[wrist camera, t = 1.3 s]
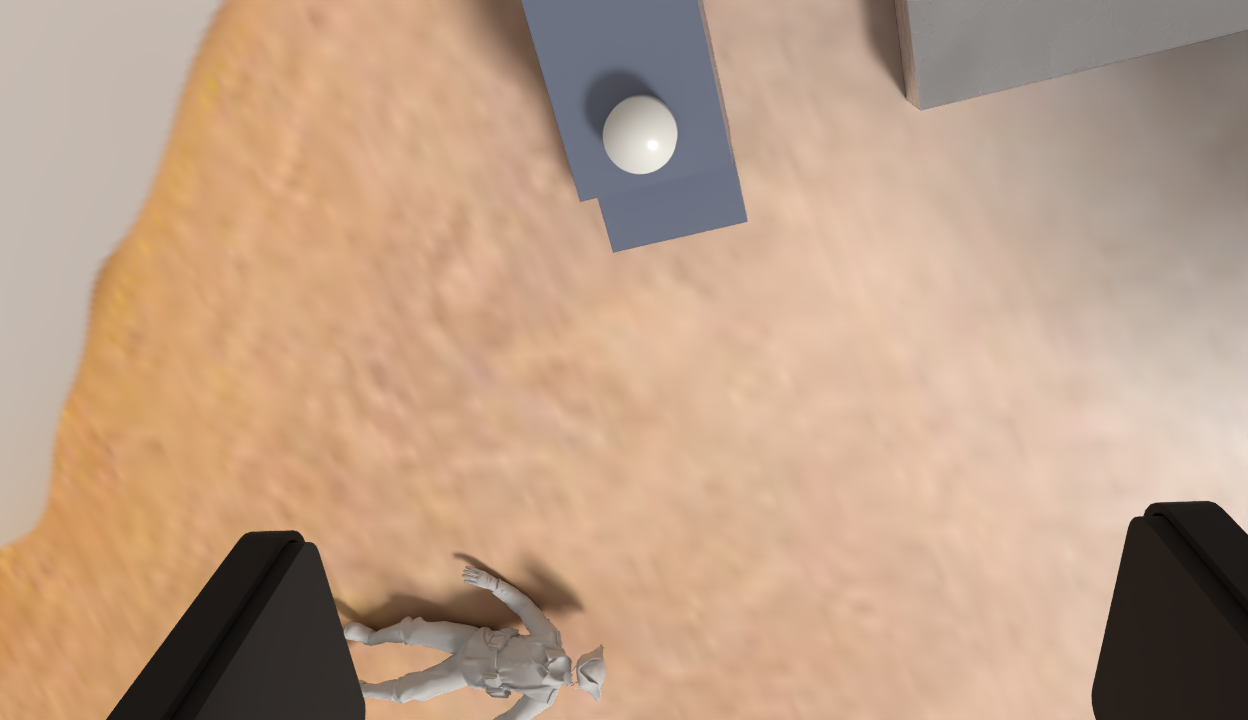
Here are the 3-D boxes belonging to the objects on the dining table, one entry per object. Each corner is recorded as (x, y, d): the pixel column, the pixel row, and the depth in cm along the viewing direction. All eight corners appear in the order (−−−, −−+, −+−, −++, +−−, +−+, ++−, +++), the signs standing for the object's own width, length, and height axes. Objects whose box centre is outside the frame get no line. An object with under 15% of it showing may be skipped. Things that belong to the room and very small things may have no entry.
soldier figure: (352, 558, 40) (567, 570, 34) (422, 567, 44) (624, 580, 38) (320, 736, 37) (545, 783, 31) (397, 729, 41) (608, 769, 36)
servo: (662, -192, 25) (646, -236, 19) (744, 199, 29) (751, 256, 24) (518, -144, 25) (462, -173, 20) (621, 228, 30) (599, 290, 25)
